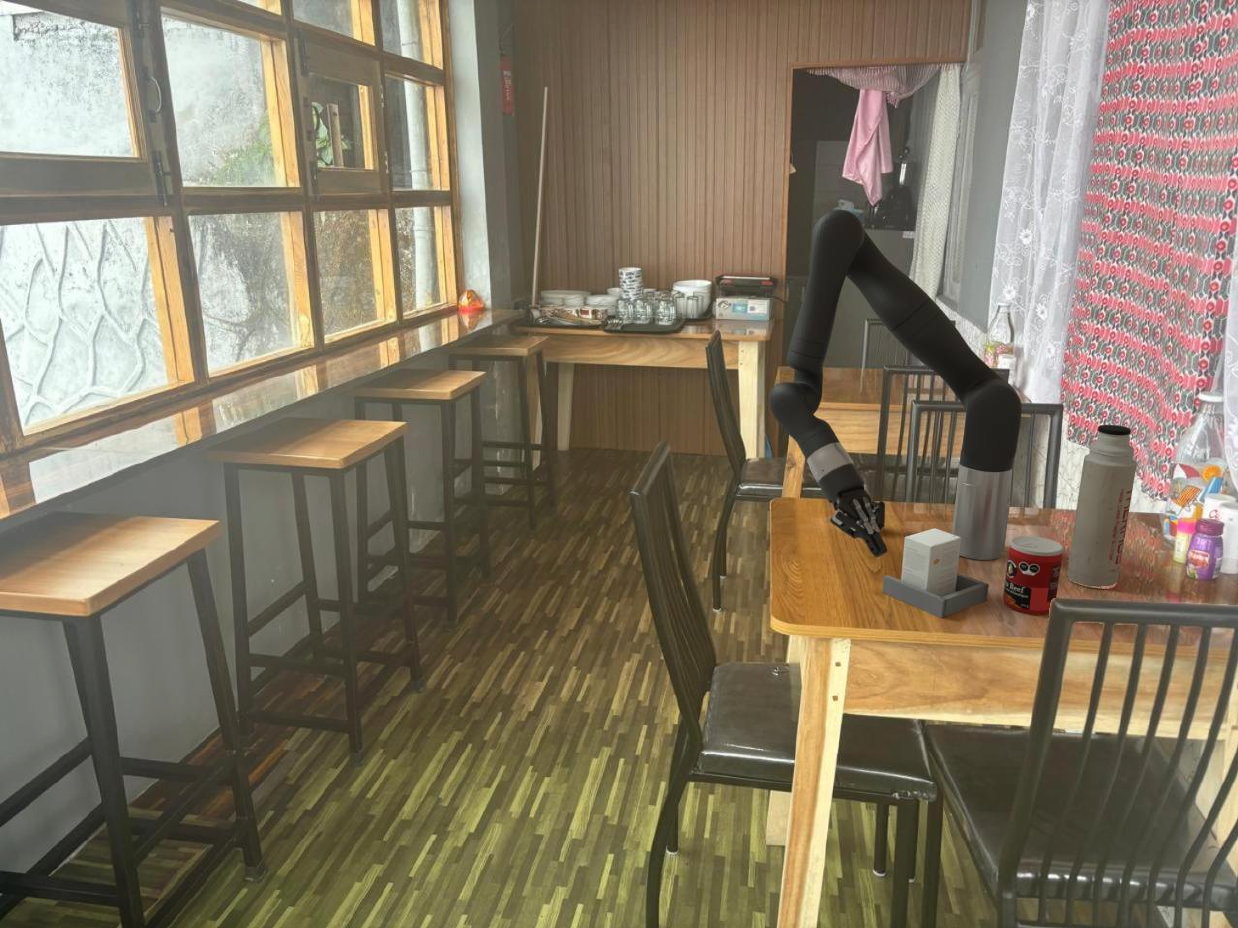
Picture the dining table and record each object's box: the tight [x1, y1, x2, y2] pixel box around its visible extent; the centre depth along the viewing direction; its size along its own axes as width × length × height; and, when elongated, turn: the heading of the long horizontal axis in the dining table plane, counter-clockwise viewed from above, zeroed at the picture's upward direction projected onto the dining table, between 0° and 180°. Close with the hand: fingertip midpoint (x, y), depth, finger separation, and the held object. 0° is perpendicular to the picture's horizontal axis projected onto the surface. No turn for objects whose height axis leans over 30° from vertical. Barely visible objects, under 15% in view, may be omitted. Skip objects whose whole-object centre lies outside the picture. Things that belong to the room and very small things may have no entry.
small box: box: [900, 527, 961, 597], centre depth 153 cm, size 8×6×10 cm
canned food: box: [1002, 535, 1064, 616], centre depth 148 cm, size 8×8×11 cm
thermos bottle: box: [1066, 424, 1138, 587], centre depth 156 cm, size 8×8×28 cm
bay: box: [881, 572, 990, 619], centre depth 153 cm, size 12×12×3 cm
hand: (881, 554), depth 161 cm, fingers closed
